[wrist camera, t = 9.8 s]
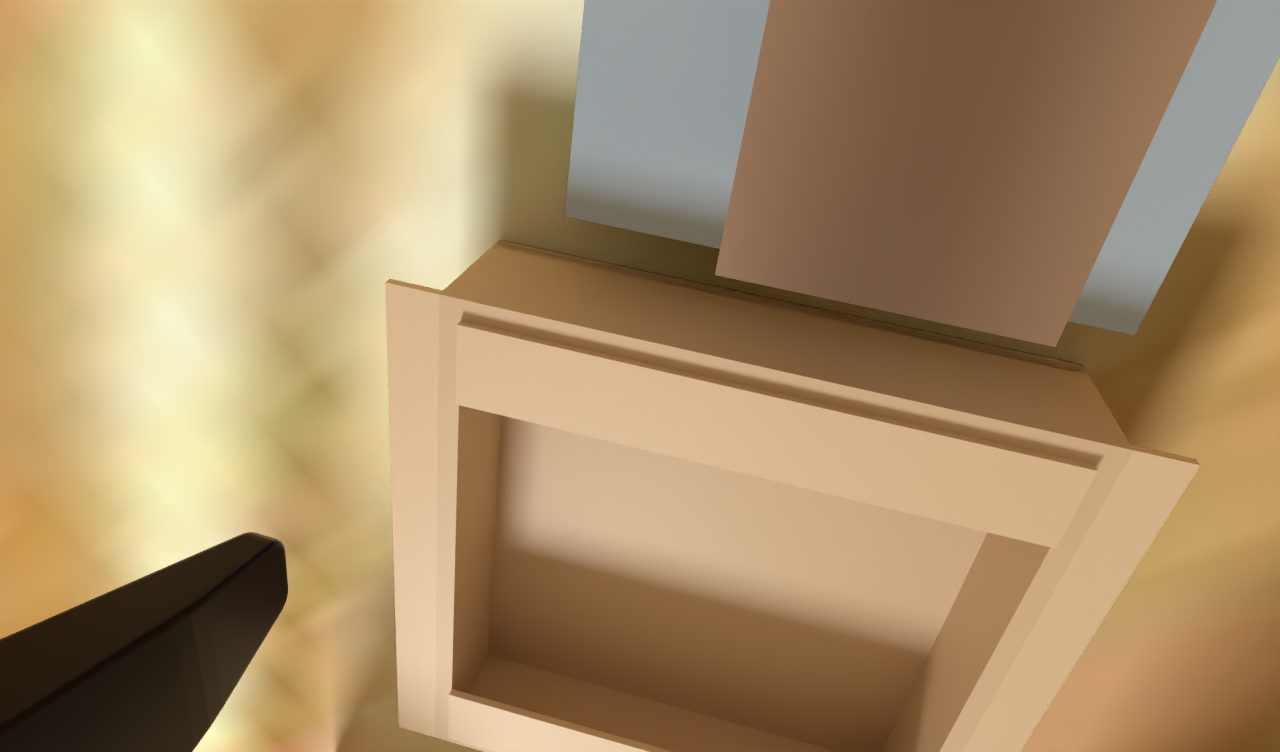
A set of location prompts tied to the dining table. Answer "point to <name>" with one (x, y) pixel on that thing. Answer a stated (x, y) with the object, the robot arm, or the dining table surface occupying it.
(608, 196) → the trivet
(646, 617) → the beige shallow square tray
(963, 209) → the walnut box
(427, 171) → the dining table surface
